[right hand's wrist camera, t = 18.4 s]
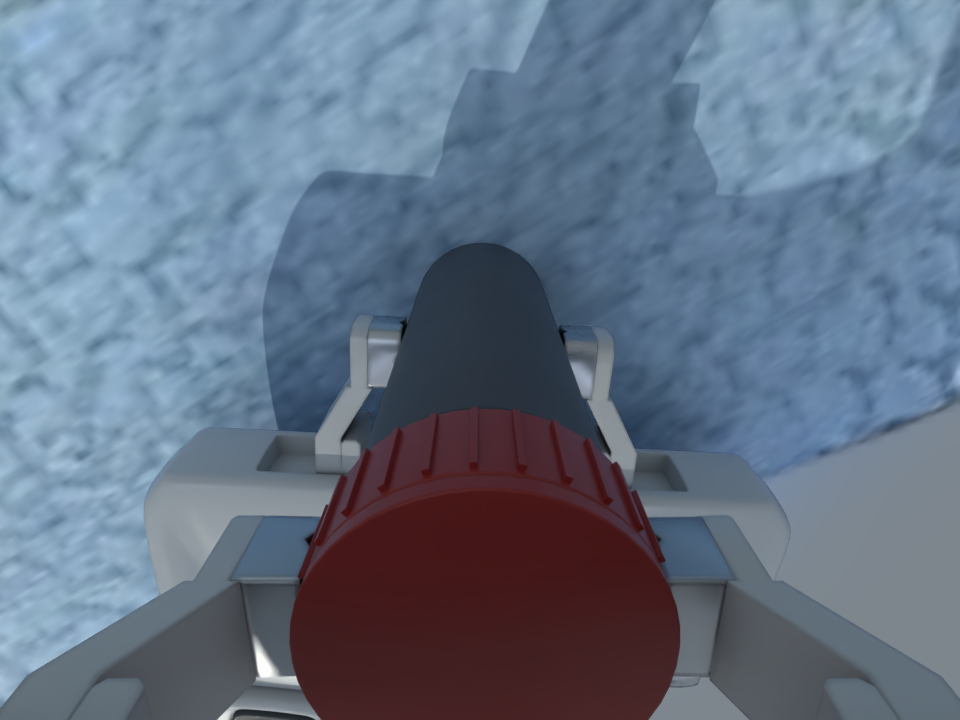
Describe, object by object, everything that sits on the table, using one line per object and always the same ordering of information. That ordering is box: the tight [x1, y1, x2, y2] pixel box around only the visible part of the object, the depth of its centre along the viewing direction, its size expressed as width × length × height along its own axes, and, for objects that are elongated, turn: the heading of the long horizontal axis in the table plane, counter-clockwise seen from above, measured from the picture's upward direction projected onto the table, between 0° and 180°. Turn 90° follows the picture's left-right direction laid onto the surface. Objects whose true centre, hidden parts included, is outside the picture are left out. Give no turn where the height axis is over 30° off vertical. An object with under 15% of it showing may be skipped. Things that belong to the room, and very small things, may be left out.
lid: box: [289, 407, 680, 720], centre depth 9 cm, size 5×5×2 cm
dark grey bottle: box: [366, 243, 602, 452], centre depth 16 cm, size 5×5×16 cm
